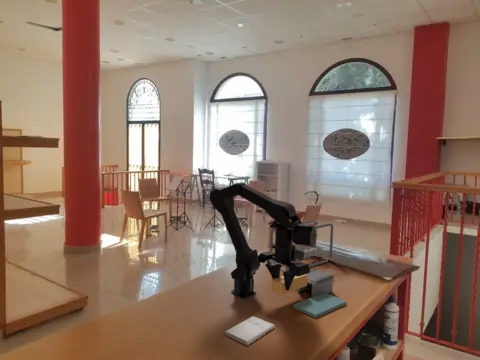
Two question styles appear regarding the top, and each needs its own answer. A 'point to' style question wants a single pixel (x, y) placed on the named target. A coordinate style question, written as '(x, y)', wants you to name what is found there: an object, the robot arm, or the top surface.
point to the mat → (319, 304)
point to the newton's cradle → (313, 250)
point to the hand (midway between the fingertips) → (282, 287)
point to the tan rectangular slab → (297, 283)
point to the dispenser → (318, 282)
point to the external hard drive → (249, 330)
